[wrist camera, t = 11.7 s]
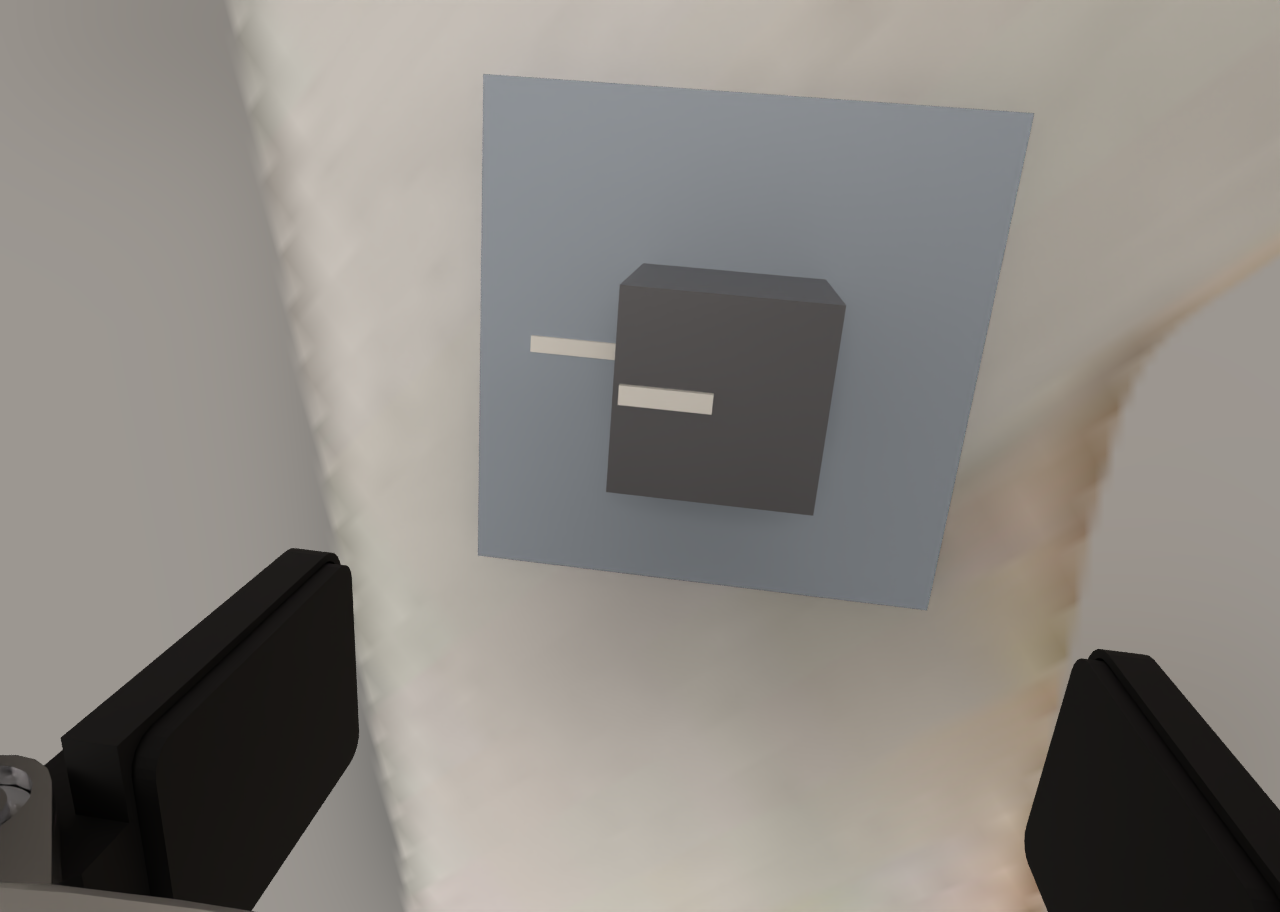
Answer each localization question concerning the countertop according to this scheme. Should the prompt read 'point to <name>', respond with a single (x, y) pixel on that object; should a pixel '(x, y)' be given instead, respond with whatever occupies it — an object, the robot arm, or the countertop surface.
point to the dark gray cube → (723, 387)
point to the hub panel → (743, 242)
